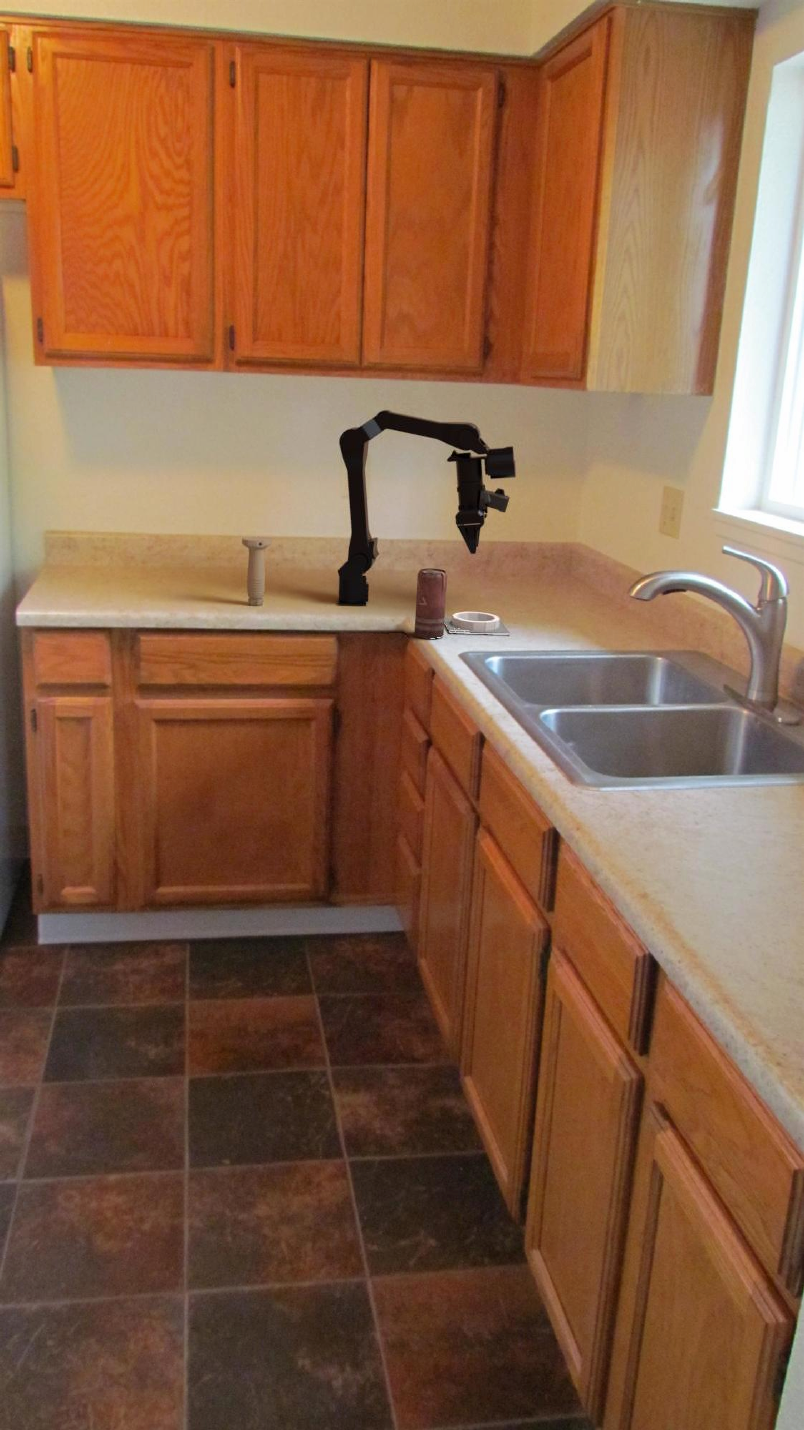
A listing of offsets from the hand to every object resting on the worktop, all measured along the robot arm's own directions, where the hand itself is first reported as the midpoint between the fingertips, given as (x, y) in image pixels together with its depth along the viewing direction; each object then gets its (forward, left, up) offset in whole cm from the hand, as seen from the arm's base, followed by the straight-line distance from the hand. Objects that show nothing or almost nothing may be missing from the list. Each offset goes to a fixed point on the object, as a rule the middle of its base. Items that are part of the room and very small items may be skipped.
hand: (474, 550), depth 273 cm
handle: (-49, 0, -15) cm, 51 cm away
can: (-12, -25, -15) cm, 31 cm away
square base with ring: (-1, -16, -14) cm, 21 cm away
